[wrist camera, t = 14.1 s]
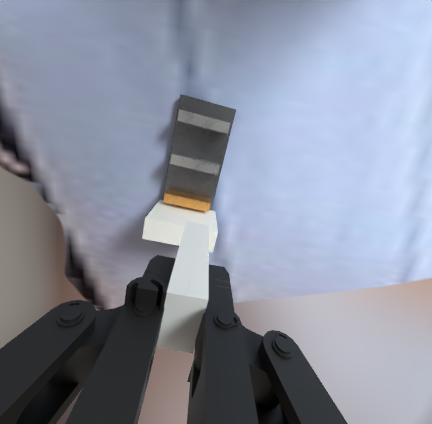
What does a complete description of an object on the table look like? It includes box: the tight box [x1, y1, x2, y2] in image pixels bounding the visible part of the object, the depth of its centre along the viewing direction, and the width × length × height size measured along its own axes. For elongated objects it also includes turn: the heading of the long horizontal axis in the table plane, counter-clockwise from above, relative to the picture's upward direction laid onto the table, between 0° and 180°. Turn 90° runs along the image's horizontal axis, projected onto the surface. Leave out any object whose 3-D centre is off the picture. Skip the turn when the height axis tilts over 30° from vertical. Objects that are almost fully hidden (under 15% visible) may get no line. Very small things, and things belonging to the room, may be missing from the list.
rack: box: [163, 95, 236, 212], centre depth 28 cm, size 20×7×4 cm, turn 166°
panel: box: [142, 200, 218, 252], centre depth 27 cm, size 2×8×8 cm, turn 76°
